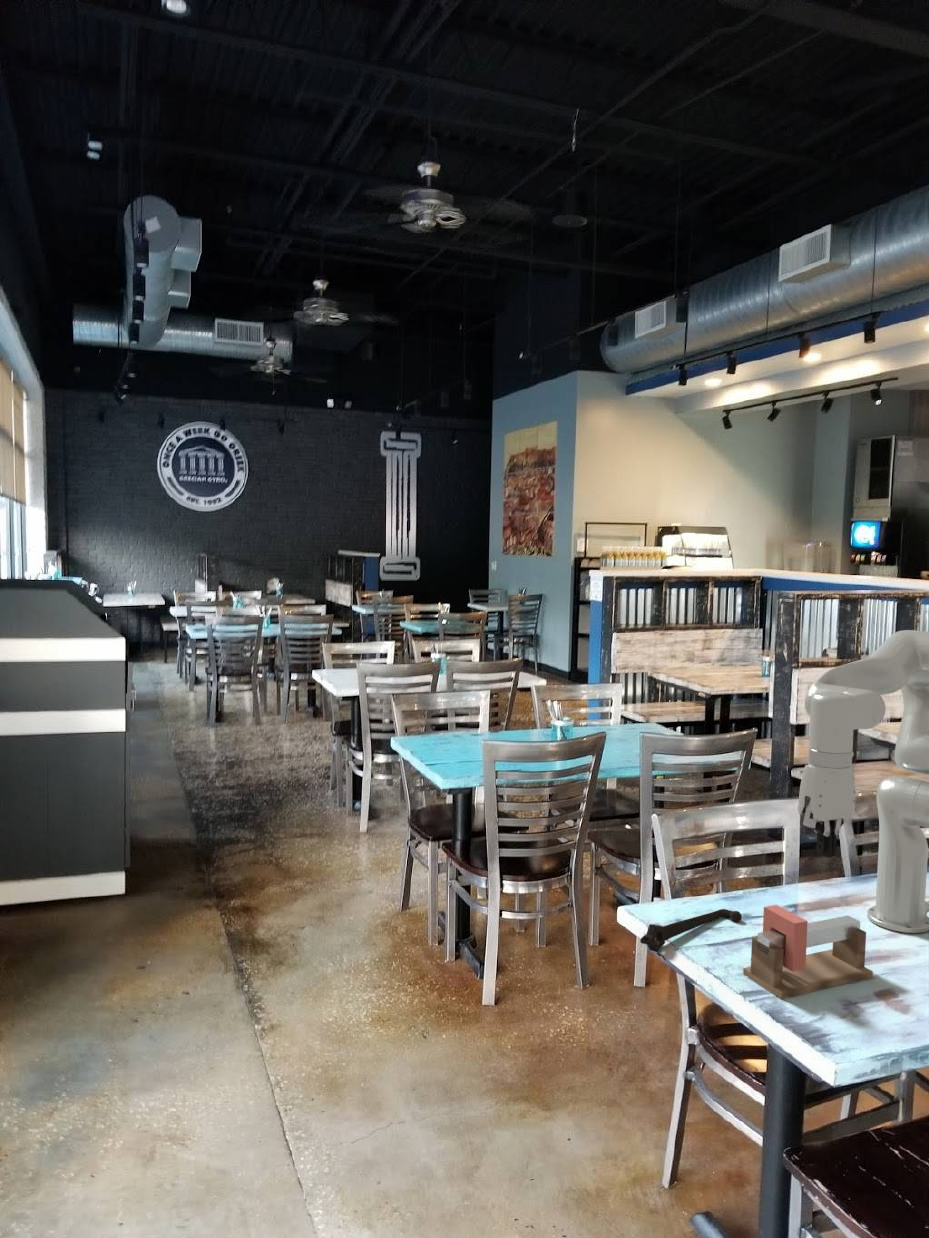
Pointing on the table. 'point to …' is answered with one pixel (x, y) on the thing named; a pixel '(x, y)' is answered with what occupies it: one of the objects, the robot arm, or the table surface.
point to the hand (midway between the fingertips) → (825, 854)
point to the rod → (814, 933)
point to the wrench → (683, 927)
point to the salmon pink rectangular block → (788, 935)
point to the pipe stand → (810, 967)
